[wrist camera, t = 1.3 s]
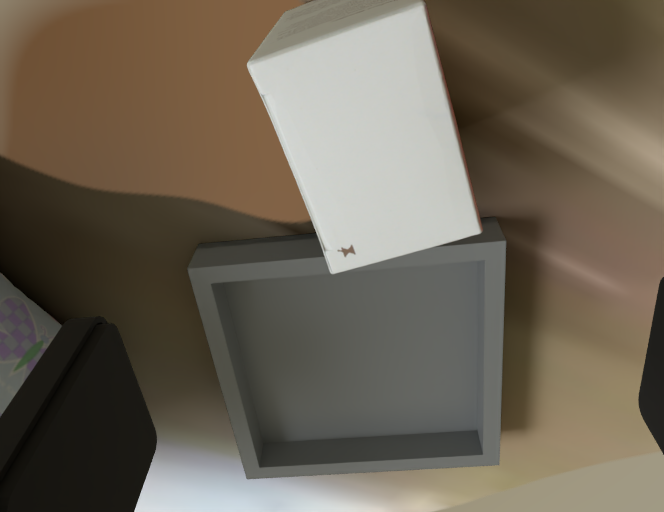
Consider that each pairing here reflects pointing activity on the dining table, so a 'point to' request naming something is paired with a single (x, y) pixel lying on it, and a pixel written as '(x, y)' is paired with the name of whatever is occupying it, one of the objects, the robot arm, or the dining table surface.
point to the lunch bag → (20, 338)
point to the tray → (356, 354)
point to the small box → (367, 128)
